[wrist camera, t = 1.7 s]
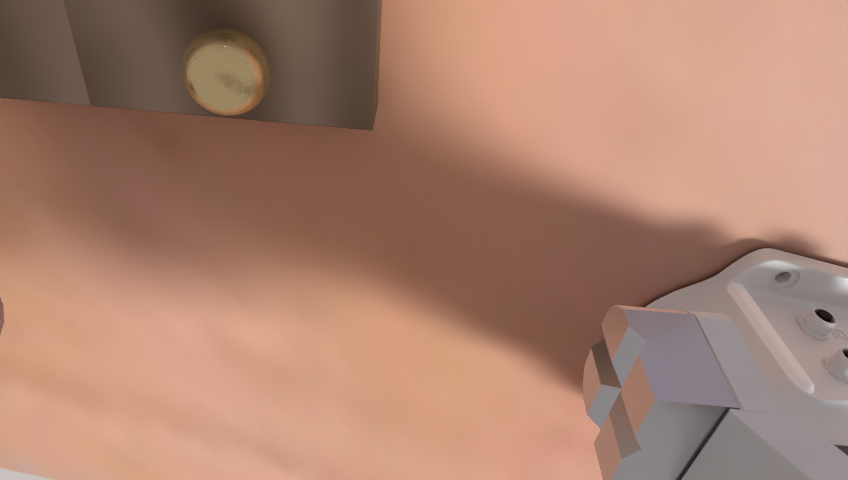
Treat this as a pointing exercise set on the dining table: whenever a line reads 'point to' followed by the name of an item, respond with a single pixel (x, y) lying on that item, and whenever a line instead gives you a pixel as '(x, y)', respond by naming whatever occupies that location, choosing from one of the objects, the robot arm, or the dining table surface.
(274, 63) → the seat plate
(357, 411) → the dining table surface
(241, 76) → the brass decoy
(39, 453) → the dining table surface
